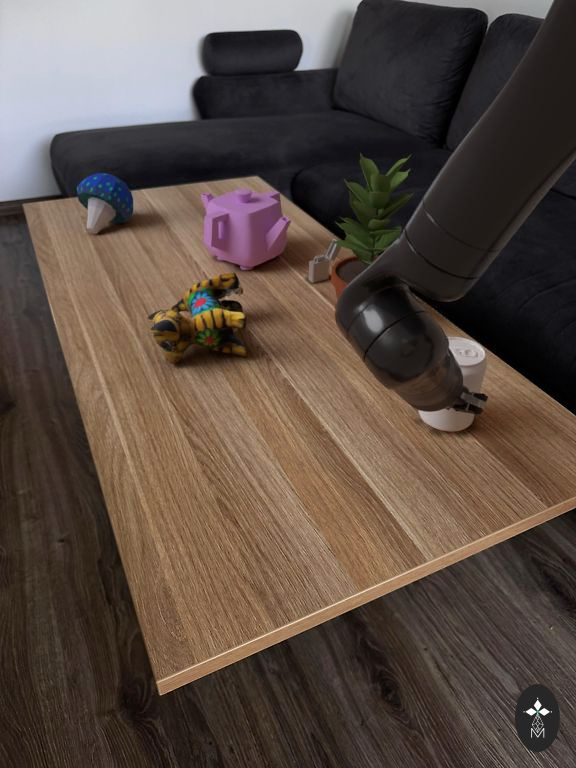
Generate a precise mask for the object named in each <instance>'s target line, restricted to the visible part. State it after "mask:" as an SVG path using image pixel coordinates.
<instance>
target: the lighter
mask: <svg viewBox="0 0 576 768" xmlns="http://www.w3.org/2000/svg"><path fill="white" fill-rule="evenodd" d="M338 240H339V239H336V238H333V239H332V240H331V241H332V242H330V245H329V247H328V250H327V252H326V254H325V255H324V254H322V253H321V254H318V255H314V258H313V259H312V260H309V262H308V281H309V282H310V283H311V284H314V283H318V282H322V281H325V280H329V278H330V263H331V262H330V261H333V262H335V261H336V259H337V257H338V256H339V255H338V254H339V252H340V250H341V248H342V246H339V245H337V244H335V243H333V242H336V241H338Z"/></svg>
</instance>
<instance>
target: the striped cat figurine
mask: <svg viewBox="0 0 576 768" xmlns="http://www.w3.org/2000/svg"><path fill="white" fill-rule="evenodd" d="M232 294H235V295H236V296H237V295H238V297H240V296H241V295H242V294H244V288H243V286H242V283H241V281H240V279H239V277H238V276H237V274H236V272H233V271H230V272H227V273H223V274H219V275H216V276H214V277H212V278H210V279H209V278H208V279H205V280H202V281H199V282H197V283H195V284H193V285H192V286H191V287H190V288H189V289H188V291H187V292H186V294H185V295H184V296H183V297H182V298H181V299H180V300H178V302H176V303H175V304H173V305H172V306H171V307H170V309H165V310H164V309H160V310H157V311H155V312H153V313H151V314H150V315H149V316H147V318H146V319H147V321H149V322H151V323H153V325H152V327H151V328H150V330H149V333H150V334H152V335H153V340H154V341H155V343H156V344H157V345H158V346H159V347H160V348H162V350H163V352H164V359H165V360H166V361H167V362H168V363H169V364H171V365H176V364H178V363H179V362H180V360H181V359H182V358H183V356H184V354H185V353H186V351H187V350H188V349H189V348H190V346H192V345H197V346H201V347H204V348H206V349H210V350H212V351H215V352H221V353H224V354H231V355H237V356H240V357H243V358H246V357H247V356H248V348H247V344H246V343H245V342H244V341H243V340H242V339H240V338H239V337H238V336H236V334H235V333H234V332H237V331H238V330H240V331H241V330H244V329H245V328H246V326H247V316H246V314H245V313H244V308H243V306H242V304H241V302H239V301H237V300H234V299H233V300H232V299H223V298H226V297H228V298H230V297H231V296H232ZM221 299H222V300H221ZM181 312H187V313H189V314H190V316H191V317H187V316H185V315H184V314H182V313H181Z"/></svg>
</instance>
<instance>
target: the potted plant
mask: <svg viewBox="0 0 576 768" xmlns="http://www.w3.org/2000/svg"><path fill="white" fill-rule="evenodd" d="M359 154H360V159H359V164H360V167H361V170H362V173H363V175H364V178H365V181H366V187H365V188H364V187H363V186H362V185H360V184H359V183H357V182H353V181H351V182H350V181H347V180H346V179H343V181H344V182H345V184H346V186H347V187H348V189H349V190H348V192H349V204H350V207H351V209H352V210H353V213H354V214H355V216H356V217H357V219H358V221H359V222H360V223H359V222H358V221H356V220H354V219H353V218H350V217H344V218H343V217H341V216H339V218H340V219H341V220H343V221H344V222H342V223H339V222H336V221H335V220H334V222H335V224H336V225H337V226H338V227H339V228H341V229H342V230H344V233H345V235H346V236H345V237H344V239H343V240H342V239H337V240H338V241H336V242H333V243H335V244H337V245H339V246H341V248H345V249H349V250H351V251H352V253H353V254H354V255H349V256H347V257H343V258H341V259H339V260H337V261H336V262H334V264H333V265H332V267H331V277H330V279H331V281H330V282H331V285H332V286H333V288H334V291H335V295H336V301H337V300H338V297H339V295H340V293H341V292H342V290H343V289H344V288H345V287H346V286H347V285H348V284H349V283H350V282H351V281H352V280H353V279H354V278H355V277H357V276H358V275H359V274H360V273H361V272H363V271H364V270H365V269H366V268H367V267H368V266H369V265H370V264H372V263H373V262H374V261H375V260H376V259H377V258H378V257H379V256H380V255H381V254H382V253H383V252H384V251H385V250H386V249H387V248H388V247H389V246H390V245H391V244H392V243H393V242H394V241H395V240H396V239H397V237H398V236H399V235H400V234H401V232H402V231H403V227H402V226H401V225H397V226H393V227H390V228H389V229H386V228H387V226H388V224H390V222H391V221H392V219H391V218H390V217H391V216H392V215H394V214H395V213H396V212H397V211H398V210H399V209H401V208H402V207H403V206H404V205H406V203H408V202H409V200H411V198H413V196H414V194H415V193H416V192H415V191H414V192H412V193H410V194H409V193H402V194H400V195H397V196H396V197H395V198H393V199H392V200H390V198H391V194H392V193H393V192H394V191H395V190H396V189H397V188H398V187H399V186H400V185H401V184H402V183H403V182H404V180H406V179H407V178H408V176H409V173H410V171H411V168H409V169H408V170H406V171H399V170H400V169H401V168H402V167H403V166H404V165H405V163H406V162H407V161H408V159H410V157H411V155H409V156H408V157H407V158H401V159H399V160H398V161H396V162H395V163H394V164H393V166H391V167H390V169H389V170H388V172H387V173H386V174H380V171H379V169H378V167H377V165H376V164H375V162H374V161H373V160H372V159H369V158H367V157H364V156H363V154H362V153H361V152H359ZM389 218H390V219H389ZM329 242H330V243H332V240H329Z"/></svg>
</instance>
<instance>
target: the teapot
mask: <svg viewBox="0 0 576 768" xmlns="http://www.w3.org/2000/svg"><path fill="white" fill-rule="evenodd" d="M200 197H201V201H202V203H203V206H204V209H205V212H206V214H205V215H204V219H203V220H204V222H203V223H204V224H203V227H204V228H203V244H205V246H206V248H207V250H208V252H210V254H212V255H214V256H216V259H217V260H218V261H226V262H229V263H232V264H236V265H239V269H241V270H242V271H243V270H244V271H250V270H253V269H254V267H255V266H258V265H261V264H263V263H265V262H267V261H270V260H272V259H275V258H276V257H277V256H279V255H281V254H282V253H283V252H284V251H285V248H286V246H287V242H288V235H287V231H288V230H289V227H290V225H291V222H292V219H290V218H288V216H284V215H283V210H282V209H283V208H282V202H281V192H280V191H276V190H273V189H271V190H269V191H266V192H264V193H259V192H254V191H252V190H251V189H248V188H239V189H236V190H233V191H230V192H228V193H224V194H222V195H219V196H216V197H214V196H213V195H212V193H211V192H210V193H209V192H203V193H202V194H200Z"/></svg>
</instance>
